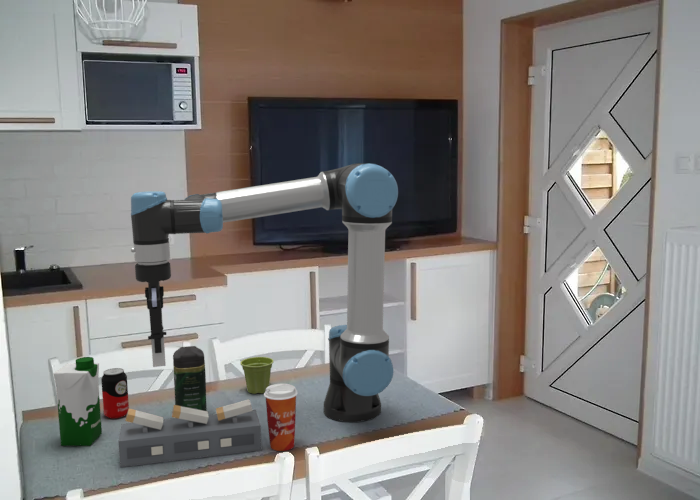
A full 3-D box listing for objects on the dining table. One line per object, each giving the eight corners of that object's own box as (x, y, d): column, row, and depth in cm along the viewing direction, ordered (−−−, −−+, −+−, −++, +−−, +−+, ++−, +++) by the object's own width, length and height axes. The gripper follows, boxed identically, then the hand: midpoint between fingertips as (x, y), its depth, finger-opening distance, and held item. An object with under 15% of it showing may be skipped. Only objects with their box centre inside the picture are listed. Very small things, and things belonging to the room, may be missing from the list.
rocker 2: (205, 418, 161) (207, 411, 161) (206, 423, 158) (208, 417, 158) (171, 411, 159) (173, 404, 159) (171, 417, 156) (173, 410, 155)
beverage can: (102, 420, 177) (99, 375, 176) (105, 411, 183) (102, 368, 182) (127, 418, 179) (125, 373, 177) (130, 409, 185) (127, 366, 183)
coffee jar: (208, 423, 174) (205, 352, 172) (176, 427, 172) (172, 355, 170) (205, 410, 184) (202, 342, 181) (175, 413, 181) (171, 345, 179)
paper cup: (271, 455, 156) (269, 396, 154) (261, 442, 163) (259, 385, 161) (304, 449, 159) (302, 390, 157) (293, 436, 166) (291, 380, 164)
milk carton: (92, 447, 161) (86, 365, 158) (54, 447, 162) (48, 365, 159) (107, 432, 170) (101, 353, 167) (70, 432, 170) (64, 353, 167)
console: (256, 433, 168) (255, 404, 167) (261, 451, 158) (260, 421, 157) (123, 448, 161) (121, 419, 160) (119, 468, 151) (117, 436, 150)
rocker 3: (250, 405, 164) (249, 398, 163) (252, 410, 160) (251, 404, 160) (217, 414, 162) (215, 408, 162) (218, 420, 158) (216, 414, 158)
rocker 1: (161, 423, 159) (163, 417, 159) (160, 429, 155) (163, 423, 155) (126, 414, 157) (128, 408, 156) (125, 421, 153) (127, 414, 153)
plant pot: (234, 392, 197) (233, 363, 195) (257, 383, 204) (256, 354, 203) (259, 398, 191) (258, 368, 190) (281, 388, 199) (280, 359, 198)
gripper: (136, 258, 157) (142, 358, 161) (133, 267, 145) (140, 376, 148) (170, 256, 159) (176, 355, 162) (170, 265, 147) (176, 372, 150)
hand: (159, 365), depth 155 cm, fingers closed
